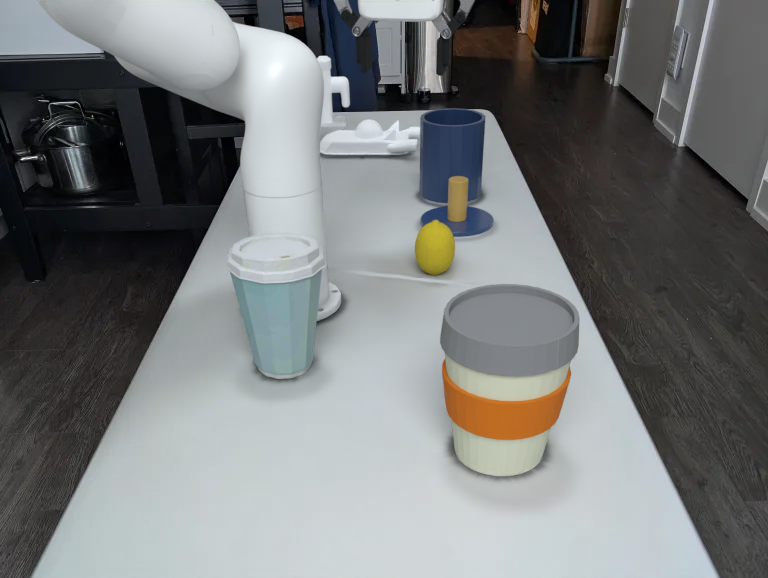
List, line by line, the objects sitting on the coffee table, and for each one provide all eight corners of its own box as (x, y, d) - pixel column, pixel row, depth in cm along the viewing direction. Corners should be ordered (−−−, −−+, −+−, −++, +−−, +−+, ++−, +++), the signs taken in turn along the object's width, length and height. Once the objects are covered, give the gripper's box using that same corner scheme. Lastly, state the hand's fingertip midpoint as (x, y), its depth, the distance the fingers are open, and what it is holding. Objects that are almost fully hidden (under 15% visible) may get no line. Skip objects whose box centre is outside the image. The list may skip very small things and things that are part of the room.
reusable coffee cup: (457, 405, 87) (464, 275, 77) (572, 427, 83) (594, 293, 74) (419, 471, 78) (421, 334, 68) (546, 499, 75) (566, 358, 65)
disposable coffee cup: (232, 353, 97) (213, 231, 87) (317, 336, 99) (308, 216, 90) (253, 397, 89) (235, 269, 79) (345, 378, 92) (338, 252, 82)
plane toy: (321, 142, 160) (319, 111, 157) (421, 144, 158) (421, 112, 155) (312, 159, 153) (310, 126, 149) (416, 161, 151) (417, 128, 147)
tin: (474, 209, 131) (478, 128, 123) (412, 203, 134) (413, 123, 126) (486, 188, 139) (491, 110, 131) (427, 183, 141) (428, 106, 133)
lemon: (454, 268, 114) (456, 212, 109) (453, 285, 110) (455, 228, 104) (415, 268, 114) (416, 212, 109) (413, 284, 110) (413, 227, 105)
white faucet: (352, 145, 159) (348, 60, 149) (304, 147, 158) (298, 62, 149) (350, 134, 164) (347, 52, 155) (305, 136, 164) (298, 54, 154)
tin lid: (485, 243, 121) (488, 195, 116) (412, 236, 123) (412, 188, 118) (498, 216, 129) (502, 170, 124) (430, 210, 131) (431, 164, 127)
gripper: (318, -96, 88) (329, 76, 99) (474, -97, 84) (466, 81, 96) (338, -101, 93) (345, 63, 105) (484, -103, 90) (476, 67, 101)
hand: (403, 71), depth 100 cm, fingers open, 9 cm apart
